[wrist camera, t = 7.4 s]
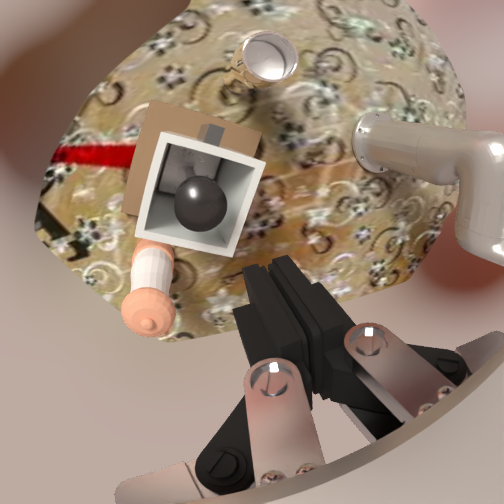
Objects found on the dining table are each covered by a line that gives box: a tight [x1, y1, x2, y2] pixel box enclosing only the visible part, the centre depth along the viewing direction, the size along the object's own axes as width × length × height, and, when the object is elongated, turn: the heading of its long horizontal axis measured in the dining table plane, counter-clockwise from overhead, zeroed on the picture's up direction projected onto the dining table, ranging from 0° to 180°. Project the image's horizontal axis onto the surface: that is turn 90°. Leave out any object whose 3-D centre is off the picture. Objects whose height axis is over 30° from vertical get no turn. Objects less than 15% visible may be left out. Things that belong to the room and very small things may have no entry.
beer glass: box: [222, 31, 299, 94], centre depth 31 cm, size 7×7×15 cm
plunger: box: [159, 144, 227, 232], centre depth 31 cm, size 8×8×20 cm
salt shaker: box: [121, 239, 176, 337], centre depth 39 cm, size 7×7×19 cm
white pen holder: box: [121, 100, 266, 257], centre depth 34 cm, size 18×18×20 cm
